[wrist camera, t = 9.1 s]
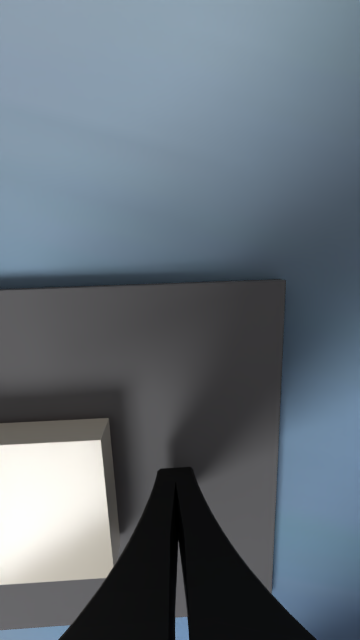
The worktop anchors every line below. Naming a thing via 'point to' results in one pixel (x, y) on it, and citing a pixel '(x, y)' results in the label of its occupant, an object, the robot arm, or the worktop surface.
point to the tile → (57, 501)
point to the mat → (153, 405)
